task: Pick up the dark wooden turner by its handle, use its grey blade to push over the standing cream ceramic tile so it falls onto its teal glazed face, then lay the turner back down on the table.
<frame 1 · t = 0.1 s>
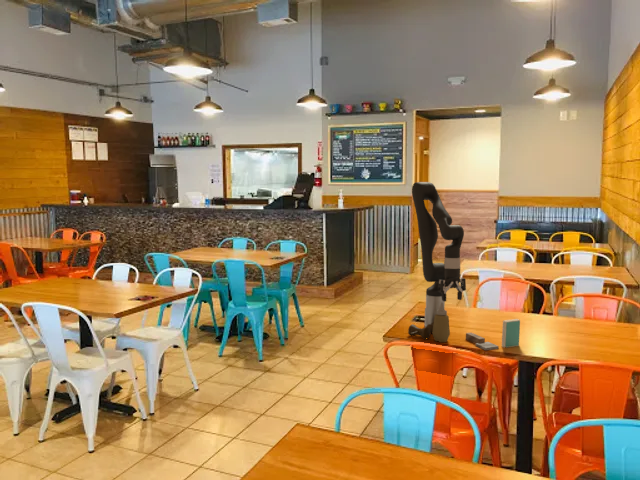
hand: (451, 300, 259), 17 cm above the table, tool pointing down, fingers open, 8 cm apart
wooden turner: (475, 341, 251), on the table
ceramic tile: (510, 346, 245), on the table
squeeze bottle: (440, 341, 252), on the table
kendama: (423, 336, 261), on the table
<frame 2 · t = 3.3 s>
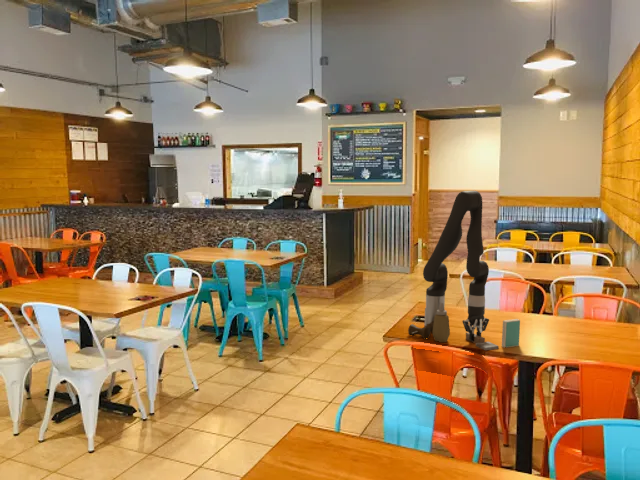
hand: (475, 340, 251), 1 cm above the table, tool pointing down, fingers closed on wooden turner, 3 cm apart
wooden turner: (475, 341, 251), on the table, touching gripper
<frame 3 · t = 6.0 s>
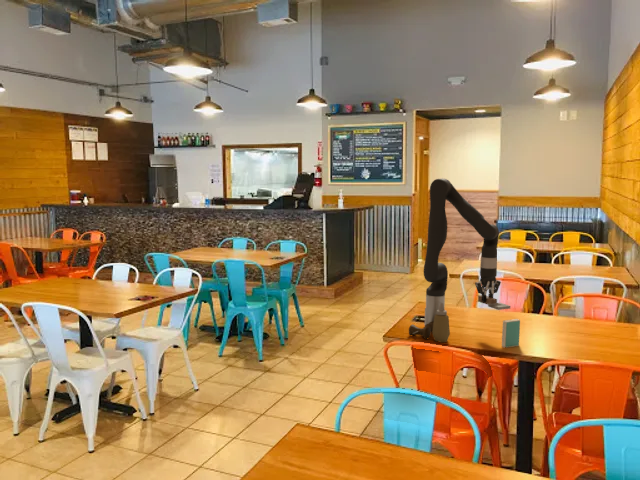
hand: (487, 301, 258), 17 cm above the table, tool pointing down, fingers closed on wooden turner, 3 cm apart
wooden turner: (487, 303, 258), point 16 cm above the table, touching gripper
everything else where it was.
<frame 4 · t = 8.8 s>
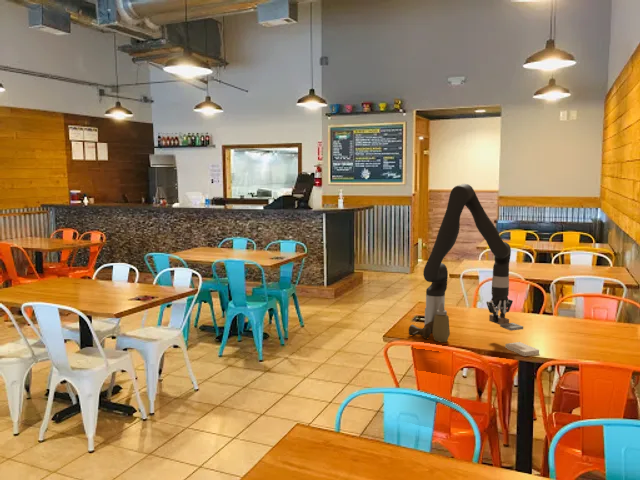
hand: (498, 321, 251), 9 cm above the table, tool pointing down, fingers closed on wooden turner, 3 cm apart
wooden turner: (498, 323, 251), point 8 cm above the table, touching gripper
ceramic tile: (512, 345, 243), point 1 cm above the table, tilted 90°
everything else where it was.
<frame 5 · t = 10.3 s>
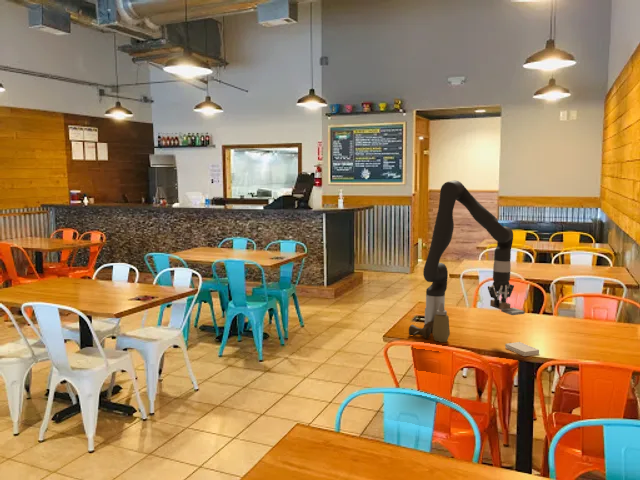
hand: (499, 306, 250), 16 cm above the table, tool pointing down, fingers closed on wooden turner, 3 cm apart
wooden turner: (500, 308, 250), point 16 cm above the table, touching gripper
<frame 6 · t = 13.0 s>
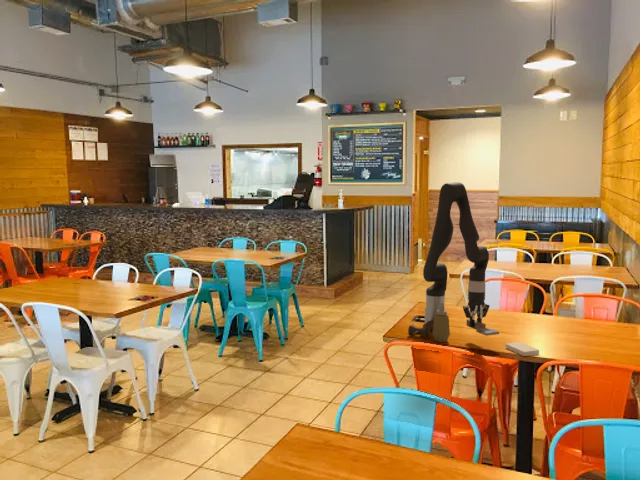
hand: (475, 326, 250), 7 cm above the table, tool pointing down, fingers closed on wooden turner, 3 cm apart
wooden turner: (475, 328, 250), point 7 cm above the table, touching gripper
when the fingers open (2 cm above the table, at t = 14.3 s): wooden turner drops 1 cm, on the table.
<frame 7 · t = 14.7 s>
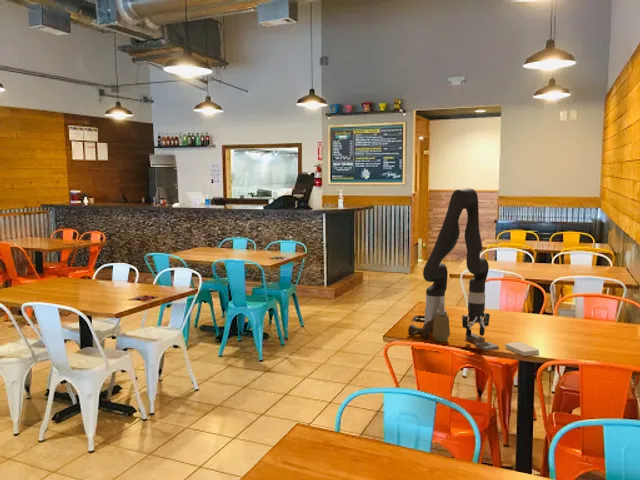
hand: (475, 336, 251), 3 cm above the table, tool pointing down, fingers open, 6 cm apart
wooden turner: (475, 341, 251), on the table
everything else where it was.
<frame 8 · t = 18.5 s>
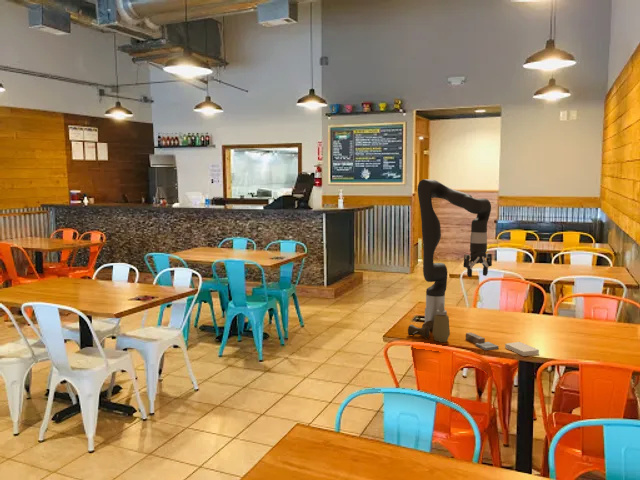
hand: (477, 276, 252), 30 cm above the table, tool pointing down, fingers open, 8 cm apart
at the end: ceramic tile tilted 90°; ceramic tile inside the target area (3.6 cm from its centre), point 0.8 cm above the table; wooden turner on the table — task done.
